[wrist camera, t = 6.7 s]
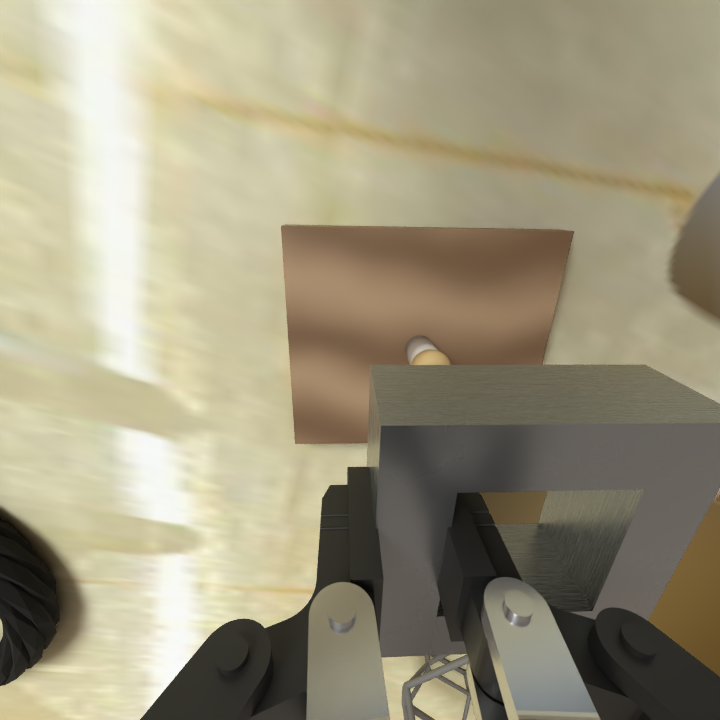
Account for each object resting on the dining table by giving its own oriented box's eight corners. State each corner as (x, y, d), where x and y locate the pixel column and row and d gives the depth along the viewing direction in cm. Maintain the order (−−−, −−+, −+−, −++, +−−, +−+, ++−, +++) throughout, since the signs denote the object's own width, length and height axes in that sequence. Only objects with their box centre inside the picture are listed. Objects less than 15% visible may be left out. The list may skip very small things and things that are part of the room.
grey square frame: (370, 365, 10) (380, 425, 7) (645, 364, 10) (754, 422, 8) (363, 563, 13) (369, 658, 10) (573, 557, 13) (633, 646, 11)
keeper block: (285, 224, 20) (265, 231, 15) (558, 229, 21) (629, 237, 16) (297, 431, 26) (286, 487, 21) (513, 429, 26) (554, 482, 21)
